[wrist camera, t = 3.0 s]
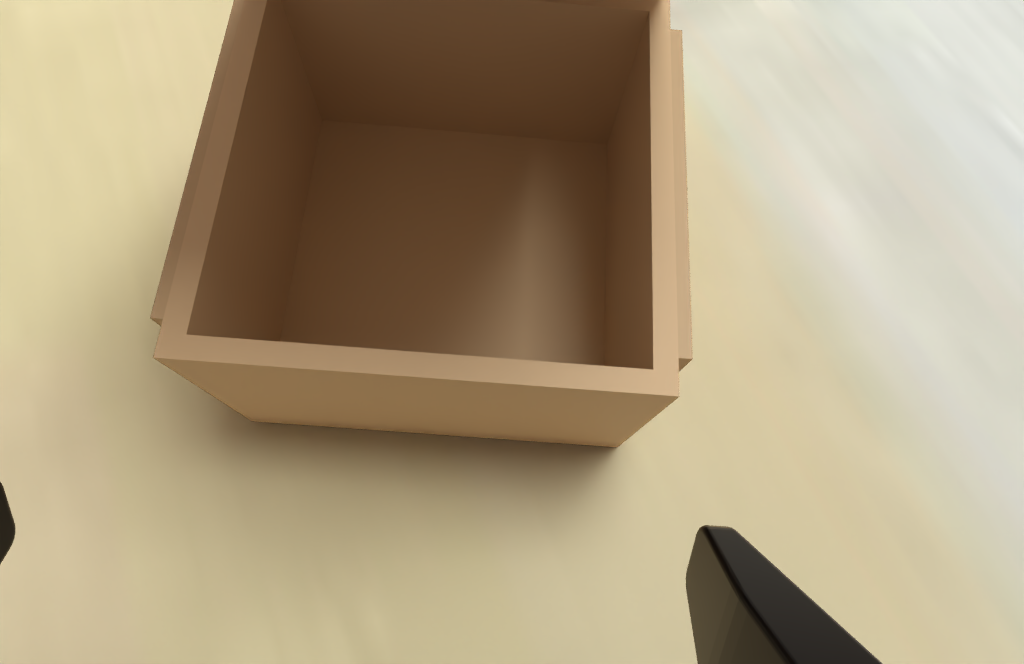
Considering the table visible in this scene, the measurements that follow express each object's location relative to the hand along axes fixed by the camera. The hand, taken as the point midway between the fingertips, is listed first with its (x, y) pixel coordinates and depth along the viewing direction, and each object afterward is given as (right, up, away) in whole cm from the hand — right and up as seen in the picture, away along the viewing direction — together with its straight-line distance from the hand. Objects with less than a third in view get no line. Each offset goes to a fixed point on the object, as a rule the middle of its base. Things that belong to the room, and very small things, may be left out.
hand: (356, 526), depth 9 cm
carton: (0, +5, +15) cm, 16 cm away
